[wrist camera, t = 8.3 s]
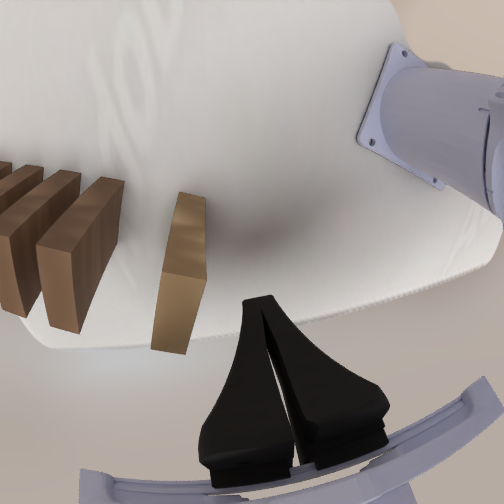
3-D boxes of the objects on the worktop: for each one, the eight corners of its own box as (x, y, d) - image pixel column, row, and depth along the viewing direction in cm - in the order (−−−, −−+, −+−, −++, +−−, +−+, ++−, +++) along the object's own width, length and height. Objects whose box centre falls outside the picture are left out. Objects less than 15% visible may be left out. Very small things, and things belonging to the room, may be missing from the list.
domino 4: (204, 197, 16) (206, 280, 10) (188, 257, 18) (185, 354, 12) (179, 191, 16) (161, 271, 9) (165, 253, 18) (150, 349, 11)
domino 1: (43, 167, 13) (-36, 225, 6) (43, 227, 15) (-16, 302, 8) (25, 164, 13) (-53, 219, 6) (26, 223, 15) (-34, 294, 8)
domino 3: (124, 181, 15) (70, 253, 8) (116, 243, 17) (79, 334, 10) (100, 176, 14) (35, 244, 8) (95, 238, 16) (49, 326, 10)
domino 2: (81, 173, 14) (8, 237, 7) (77, 235, 16) (26, 318, 9) (60, 169, 13) (-17, 229, 7) (58, 230, 15) (2, 309, 9)
